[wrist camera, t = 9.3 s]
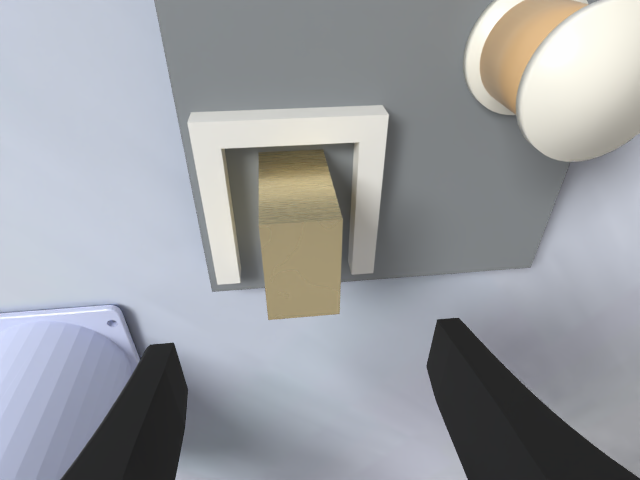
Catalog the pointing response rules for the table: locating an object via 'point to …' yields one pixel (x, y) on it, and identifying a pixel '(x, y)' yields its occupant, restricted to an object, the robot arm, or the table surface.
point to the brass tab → (299, 234)
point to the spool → (560, 72)
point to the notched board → (353, 133)
